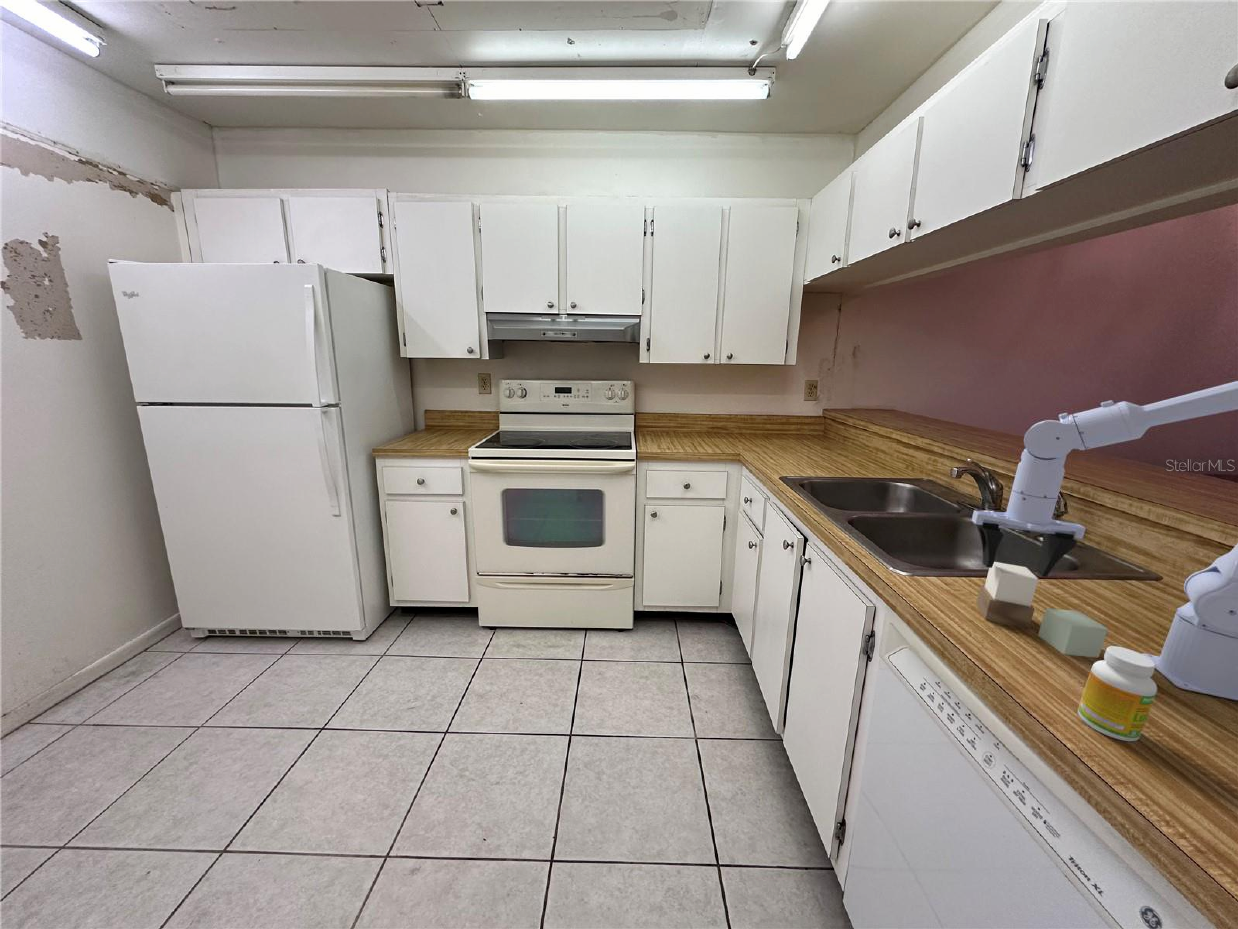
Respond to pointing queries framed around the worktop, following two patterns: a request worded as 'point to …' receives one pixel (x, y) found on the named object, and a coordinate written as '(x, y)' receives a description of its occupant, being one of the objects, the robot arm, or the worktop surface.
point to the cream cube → (1011, 583)
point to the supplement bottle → (1119, 694)
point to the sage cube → (1072, 632)
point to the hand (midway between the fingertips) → (1014, 569)
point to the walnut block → (1004, 610)
